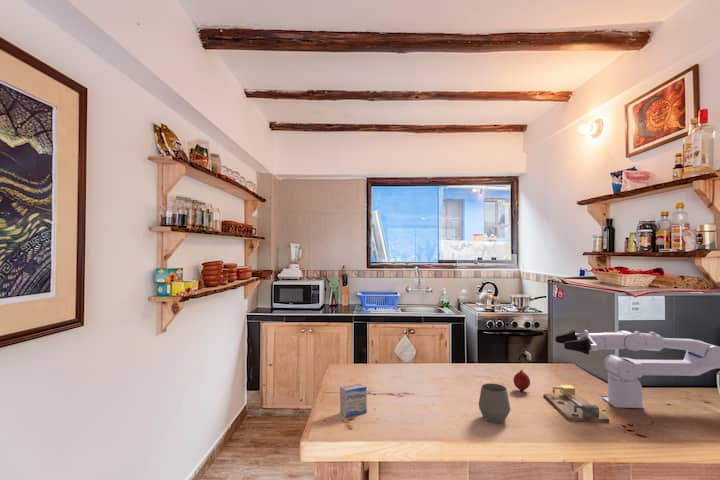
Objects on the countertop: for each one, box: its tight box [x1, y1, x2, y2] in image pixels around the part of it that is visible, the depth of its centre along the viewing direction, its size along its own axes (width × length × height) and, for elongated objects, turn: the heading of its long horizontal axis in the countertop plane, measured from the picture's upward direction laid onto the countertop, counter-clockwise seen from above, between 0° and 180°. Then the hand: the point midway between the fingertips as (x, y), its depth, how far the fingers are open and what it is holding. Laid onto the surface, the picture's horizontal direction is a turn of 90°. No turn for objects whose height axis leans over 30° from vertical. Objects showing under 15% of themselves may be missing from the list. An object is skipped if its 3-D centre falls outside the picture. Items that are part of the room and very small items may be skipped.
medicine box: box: [339, 383, 368, 419], centre depth 128 cm, size 8×4×9 cm, turn 118°
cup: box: [478, 382, 511, 424], centre depth 123 cm, size 10×9×10 cm
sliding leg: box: [552, 384, 576, 395], centre depth 139 cm, size 7×3×2 cm, turn 86°
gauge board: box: [543, 393, 610, 423], centre depth 131 cm, size 12×20×4 cm, turn 176°
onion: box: [513, 369, 531, 392], centre depth 147 cm, size 6×6×8 cm
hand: (560, 342), depth 137 cm, fingers open, 7 cm apart
